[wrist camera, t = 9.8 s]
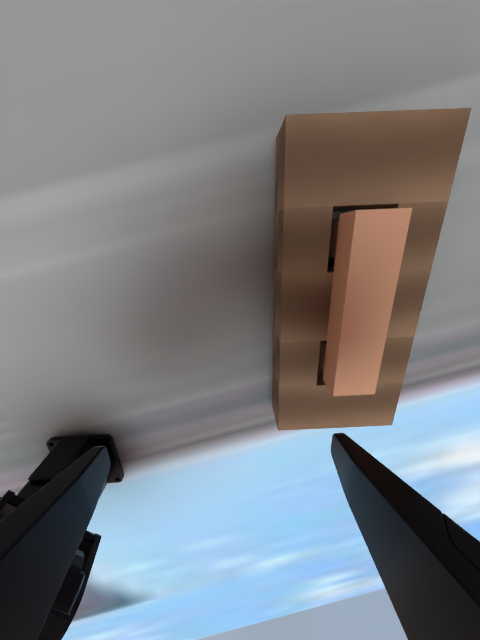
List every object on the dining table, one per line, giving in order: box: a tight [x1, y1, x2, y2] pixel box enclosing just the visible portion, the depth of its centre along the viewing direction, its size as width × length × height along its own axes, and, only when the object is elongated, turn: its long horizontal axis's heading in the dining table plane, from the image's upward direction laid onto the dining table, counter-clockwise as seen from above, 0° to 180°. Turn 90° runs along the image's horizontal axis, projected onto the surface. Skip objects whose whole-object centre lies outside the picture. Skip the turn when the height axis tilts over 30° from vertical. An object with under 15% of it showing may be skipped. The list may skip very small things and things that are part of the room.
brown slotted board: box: [273, 108, 471, 430], centre depth 17 cm, size 22×10×3 cm, turn 2°
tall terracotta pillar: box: [318, 208, 412, 396], centre depth 16 cm, size 12×3×5 cm, turn 2°
